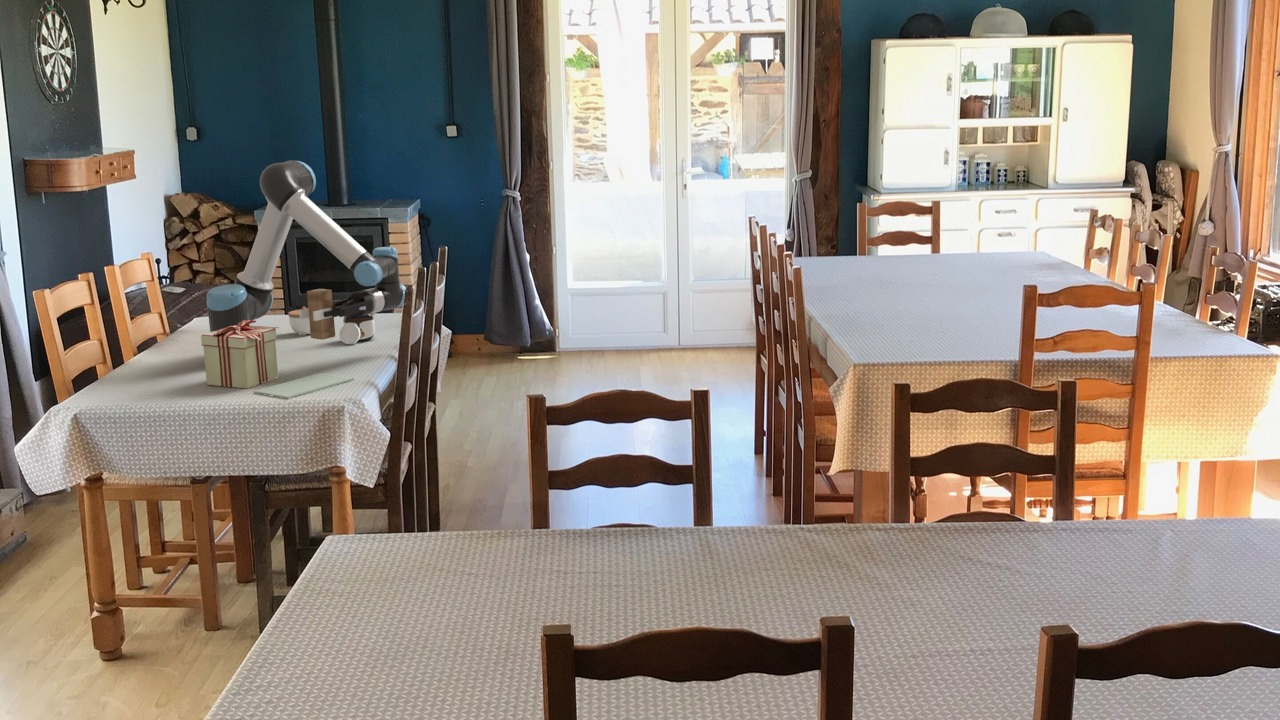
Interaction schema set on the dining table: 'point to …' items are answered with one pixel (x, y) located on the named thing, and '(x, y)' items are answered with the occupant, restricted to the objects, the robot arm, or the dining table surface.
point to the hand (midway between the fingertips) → (307, 315)
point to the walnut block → (320, 301)
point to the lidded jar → (299, 323)
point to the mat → (304, 385)
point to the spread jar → (357, 328)
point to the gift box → (240, 355)
